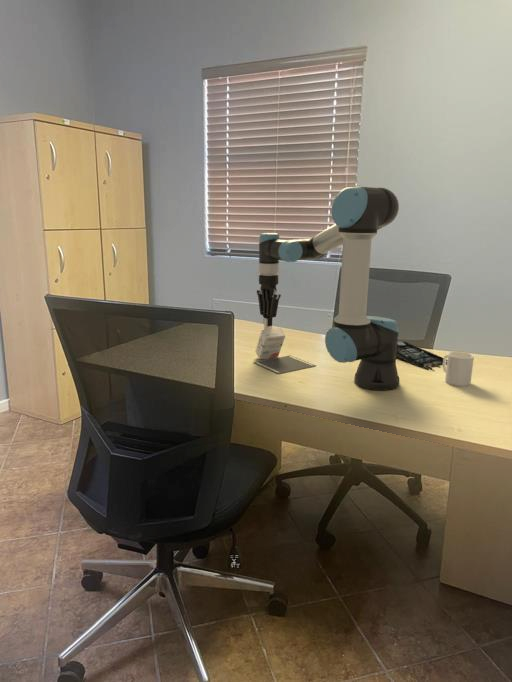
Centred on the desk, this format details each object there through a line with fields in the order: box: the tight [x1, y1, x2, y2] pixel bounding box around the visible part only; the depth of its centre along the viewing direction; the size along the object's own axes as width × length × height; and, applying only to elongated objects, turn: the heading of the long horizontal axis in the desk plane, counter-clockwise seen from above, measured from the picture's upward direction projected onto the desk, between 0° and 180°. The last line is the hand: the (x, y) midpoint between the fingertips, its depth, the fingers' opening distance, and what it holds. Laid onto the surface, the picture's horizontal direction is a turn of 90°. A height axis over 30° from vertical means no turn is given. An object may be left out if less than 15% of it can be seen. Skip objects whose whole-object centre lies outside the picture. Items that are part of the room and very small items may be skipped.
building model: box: [396, 340, 448, 373], centre depth 208 cm, size 14×7×30 cm
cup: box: [442, 351, 475, 388], centre depth 182 cm, size 8×12×10 cm
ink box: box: [255, 327, 286, 360], centre depth 205 cm, size 9×5×12 cm, turn 116°
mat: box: [252, 355, 317, 375], centre depth 200 cm, size 16×18×1 cm
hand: (267, 333), depth 206 cm, fingers closed
